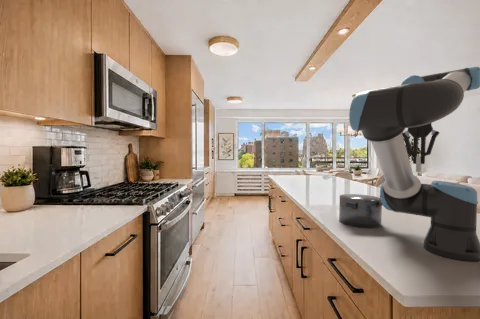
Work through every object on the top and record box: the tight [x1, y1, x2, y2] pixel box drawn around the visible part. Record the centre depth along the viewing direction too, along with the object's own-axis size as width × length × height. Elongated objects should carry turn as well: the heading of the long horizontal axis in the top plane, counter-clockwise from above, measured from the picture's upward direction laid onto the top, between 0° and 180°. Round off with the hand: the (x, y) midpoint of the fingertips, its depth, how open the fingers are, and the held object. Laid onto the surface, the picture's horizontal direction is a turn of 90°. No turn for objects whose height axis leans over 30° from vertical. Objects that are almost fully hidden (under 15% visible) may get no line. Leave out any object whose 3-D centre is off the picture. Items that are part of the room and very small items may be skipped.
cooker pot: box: [338, 193, 383, 229], centre depth 116 cm, size 24×20×12 cm
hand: (418, 171), depth 103 cm, fingers closed
